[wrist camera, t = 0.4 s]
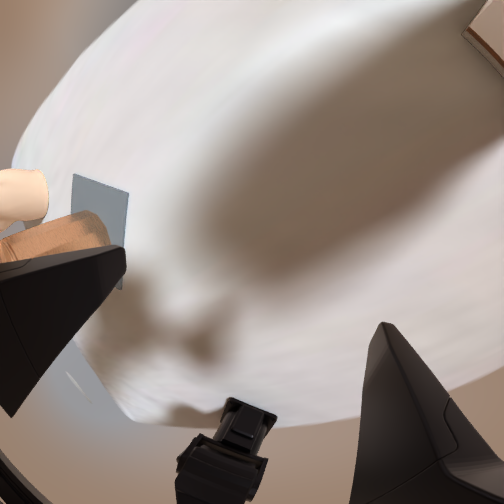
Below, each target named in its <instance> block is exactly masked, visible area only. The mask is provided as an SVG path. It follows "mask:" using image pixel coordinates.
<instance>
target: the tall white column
mask: <svg viewBox="0 0 504 504" xmlns="http://www.w3.org/2000/svg"><path fill="white" fill-rule="evenodd" d="M461 35H462V36H463V37H464V38H465V39H467V40H468V41H469V42H470V43H471V44H472V45H473V46H474V47H475V48H476V49H477V50H478V51H479V52H480V53H481V54H482V55H483V56H484V57H485V58H486V59H487V60H488V61H489V62H490V63H491V64H492V65H493V66H494V68H495V69H496V70H497V71H498V72H499V73H500V74H501V75H502V77H503V78H504V0H487V1H486V2H485V3H484V5H483V6H482V7H481V9H480V10H479V12H478V13H477V14H476V16H475V17H474V18H473V20H472V21H471V22H470V24H469V25H468V26H467V28H466V29H465V30H464V32H463V33H462V34H461Z"/></svg>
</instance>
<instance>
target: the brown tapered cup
mask: <svg viewBox="0 0 504 504" xmlns="http://www.w3.org/2000/svg"><path fill="white" fill-rule="evenodd" d="M107 245H111V241H110V238H109V235H108V231H107V228H106V226H105V225H104V223H103V222H102V221H101V219H100V218H99V216H98V215H97V214H95V213H93V212H91V211H88V210H84V211H81V212H77V213H74V214H71V215H68V216H65V217H62V218H58V219H55V220H52V221H49V222H46V223H44V224H41V225H38V226H35V227H32V228H29V229H27V230H24V231H21V232H18V233H16V234H13V235H11V236H8V237H5V238H3V239H2V240H0V263H5V262H11V261H18V260H23V259H29V258H32V259H33V258H35V257H40V256H46V255H52V254H58V253H64V252H70V251H76V250H82V249H88V248H95V247H101V246H107Z"/></svg>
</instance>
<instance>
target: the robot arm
mask: <svg viewBox="0 0 504 504" xmlns="http://www.w3.org/2000/svg"><path fill="white" fill-rule="evenodd" d="M126 268H127V266H126V254H125V249H124V248H123V247H122V246H119V245H107V246H101V247H95V248H88V249H82V250H76V251H70V252H64V253H58V254H52V255H46V256H40V257H35V258H33V259H32V258H29V259H23V260H18V261H11V262H5V263H0V405H1V407H2V408H3V409H4V410H5V412H6V413H7V414H8V415H9V416H10V417H11V418H12V417H13V416H14V415H15V413H16V412H17V410H18V409H19V408H20V406H21V405H22V403H23V402H24V400H25V399H26V397H27V396H28V395H29V393H30V392H31V391H32V389H33V388H34V387H35V385H36V384H37V382H38V381H39V380H40V378H41V377H42V375H43V374H44V373H45V371H46V370H47V369H48V368H49V366H50V365H51V364H52V362H53V361H54V360H55V358H56V357H57V356H58V355H59V354H60V352H61V351H62V350H63V349H64V347H65V346H66V345H67V344H68V342H69V341H70V340H71V339H72V338H73V336H74V335H75V334H76V333H77V332H78V330H79V329H80V328H81V327H82V326H83V325H84V323H85V322H86V321H87V320H88V319H89V318H90V316H91V315H92V314H93V313H94V312H95V311H96V310H97V308H98V307H99V306H100V305H101V304H102V303H103V302H104V300H105V299H106V298H107V296H108V295H109V294H110V292H111V291H112V290H113V288H114V287H115V286H116V284H117V283H118V282H119V280H120V279H121V278H122V276H123V275H124V274H125V272H126ZM449 396H450V395H449V394H448V393H447V391H446V390H445V389H444V387H443V386H442V385H441V383H440V382H439V381H438V379H437V378H436V377H435V375H434V374H433V373H432V371H431V370H430V369H429V368H428V366H427V365H426V364H425V363H424V361H423V360H422V359H421V357H420V356H419V355H418V354H417V352H416V351H415V350H414V349H413V347H412V346H411V345H410V344H409V343H408V341H407V340H406V339H405V338H404V336H403V335H402V334H401V333H400V332H399V330H398V329H397V328H396V327H395V326H394V325H393V324H391V323H386V322H381V323H380V324H379V325H378V327H377V329H376V331H375V334H374V336H373V337H372V339H371V342H370V344H369V348H368V356H367V363H366V370H365V377H364V383H363V391H362V406H361V420H360V431H359V441H358V450H357V458H356V465H355V472H354V479H353V485H352V490H351V496H350V501H349V504H504V461H502V460H501V459H500V458H499V457H498V456H497V455H496V454H495V453H494V451H493V450H492V449H491V448H490V446H489V445H488V444H487V443H486V442H485V440H484V439H483V438H482V436H481V435H480V434H479V433H478V432H477V430H476V429H475V428H474V427H473V425H472V424H471V423H470V422H469V421H468V419H467V418H466V417H465V416H464V414H463V413H462V411H461V410H460V409H459V407H458V406H457V405H456V403H455V402H454V401H453V399H452V398H449ZM276 421H277V416H276V415H273V414H270V413H268V412H265V411H263V410H260V409H258V408H255V407H253V406H250V405H248V404H245V403H243V402H241V401H238V400H236V399H234V398H230V399H229V400H228V403H227V405H226V408H225V410H224V413H223V415H222V418H221V420H220V423H221V424H220V426H219V428H218V430H217V432H216V433H215V435H214V437H213V439H211V438H208V437H206V436H204V435H203V434H201V433H200V434H199V435H198V436H197V437H195V438H194V439H193V440H192V442H191V443H190V445H189V446H188V447H187V448H186V449H185V450H184V451H183V452H182V453H181V454H180V455H179V456H178V457H177V459H176V460H177V463H178V465H177V469H176V473H178V476H177V478H176V479H175V491H176V500H177V504H244V503H245V501H249V502H251V501H252V499H253V498H254V496H255V494H256V492H257V490H258V488H259V485H260V482H261V480H262V477H263V474H264V471H265V468H266V465H267V462H268V458H262V457H259V456H257V453H258V451H259V449H260V446H261V444H262V441H263V439H264V438H265V436H266V435H267V434H268V432H269V431H270V429H271V428H272V427H273V425H274V424H275V422H276ZM0 497H1V498H2V499H3V500H4V502H5V503H6V504H52V503H51V502H50V501H49V500H48V499H47V498H46V497H45V496H44V495H42V494H41V493H40V492H39V491H38V490H37V489H36V488H35V487H34V486H33V485H32V484H31V483H30V482H29V481H28V480H27V479H26V478H25V477H24V476H23V475H22V474H21V473H20V472H19V471H18V469H17V468H16V467H15V466H14V465H13V464H12V463H11V462H10V460H9V459H8V458H7V457H6V456H5V455H4V453H3V452H2V451H1V450H0ZM0 504H3V503H2V502H1V501H0Z"/></svg>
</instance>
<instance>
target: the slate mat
mask: <svg viewBox="0 0 504 504" xmlns="http://www.w3.org/2000/svg"><path fill="white" fill-rule="evenodd" d="M128 196H129V193H127V192H124V191H122V190H119V189H116V188H113V187H111V186H108V185H105V184H102V183H99V182H97V181H94V180H91V179H88V178H85V177H82V176H80V175H77V174H73V182H72V197H71V214H74V213H77V212H81V211H84V210H88V211H91V212H93V213H95V214H97V215H98V216H99V218H100V219H101V221H102V222H103V223H104V225H105V226H106V228H107V231H108V235H109V238H110V241H111V245H119V246H122V247H124V234H125V223H126V213H127V204H128ZM115 287H116V288H117V289H119V290H121V289H122V278H121V279H120V280H119V282H118V283H117V284H116V286H115Z"/></svg>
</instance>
